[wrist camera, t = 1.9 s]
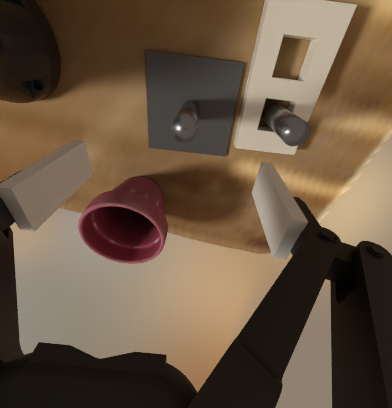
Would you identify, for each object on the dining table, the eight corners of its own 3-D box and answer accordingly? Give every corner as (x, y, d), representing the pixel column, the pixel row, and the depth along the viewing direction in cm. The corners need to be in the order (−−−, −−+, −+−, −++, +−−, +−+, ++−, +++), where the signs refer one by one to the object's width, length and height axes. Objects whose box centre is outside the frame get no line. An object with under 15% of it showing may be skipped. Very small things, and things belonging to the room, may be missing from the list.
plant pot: (163, 227, 48) (150, 273, 38) (104, 207, 45) (74, 251, 35) (184, 181, 40) (176, 223, 30) (115, 153, 37) (80, 189, 27)
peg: (180, 119, 32) (170, 141, 24) (181, 98, 31) (171, 114, 22) (198, 121, 33) (195, 144, 24) (201, 101, 31) (198, 118, 22)
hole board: (233, 142, 35) (235, 148, 33) (265, -2, 24) (270, -7, 22) (289, 149, 35) (294, 154, 33) (344, 9, 24) (357, 4, 22)
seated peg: (259, 121, 32) (279, 144, 24) (265, 101, 31) (288, 118, 22) (277, 123, 33) (303, 147, 24) (284, 103, 31) (315, 121, 22)
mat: (149, 146, 36) (149, 147, 36) (145, 50, 28) (144, 49, 27) (225, 155, 36) (225, 156, 36) (244, 62, 28) (244, 62, 28)
